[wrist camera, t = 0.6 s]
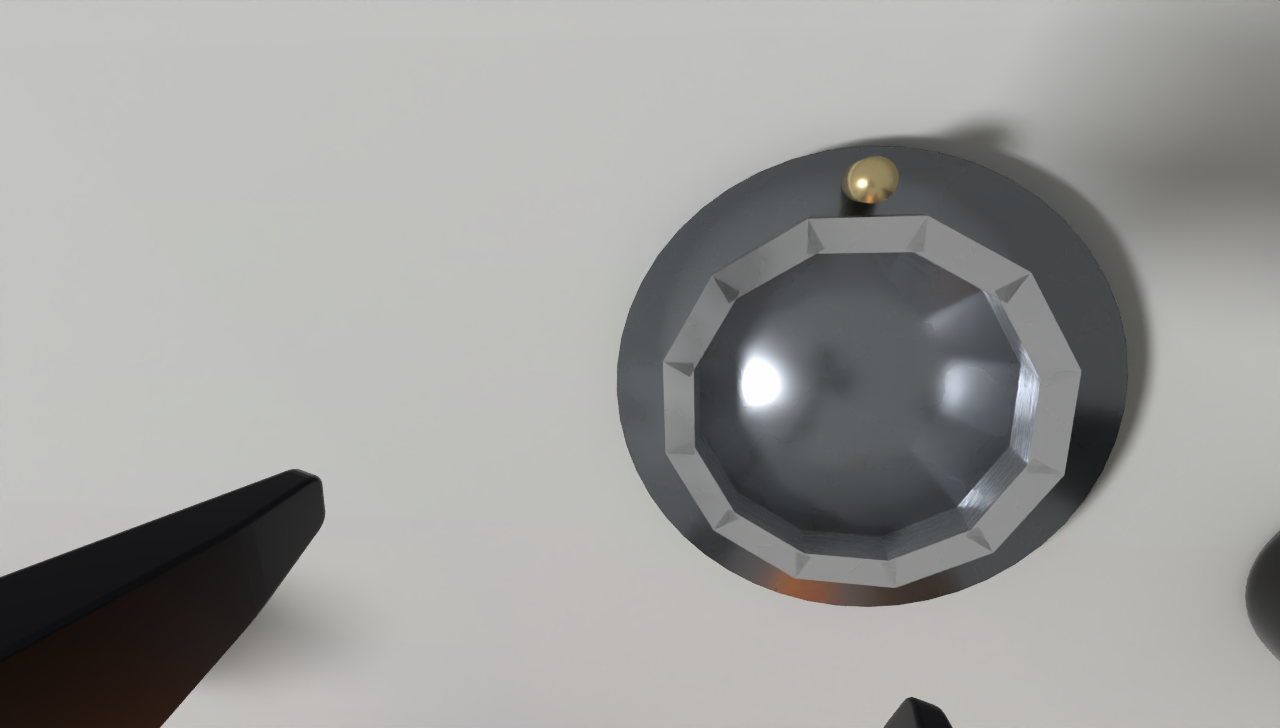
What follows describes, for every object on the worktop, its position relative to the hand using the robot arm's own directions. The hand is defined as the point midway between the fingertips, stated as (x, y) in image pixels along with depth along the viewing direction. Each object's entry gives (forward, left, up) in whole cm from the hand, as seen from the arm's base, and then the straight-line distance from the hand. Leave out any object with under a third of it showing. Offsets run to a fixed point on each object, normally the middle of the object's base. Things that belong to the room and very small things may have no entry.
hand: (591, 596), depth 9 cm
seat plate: (-1, -5, -14) cm, 15 cm away
